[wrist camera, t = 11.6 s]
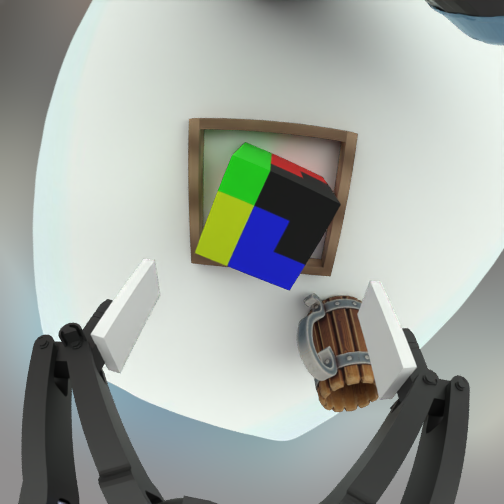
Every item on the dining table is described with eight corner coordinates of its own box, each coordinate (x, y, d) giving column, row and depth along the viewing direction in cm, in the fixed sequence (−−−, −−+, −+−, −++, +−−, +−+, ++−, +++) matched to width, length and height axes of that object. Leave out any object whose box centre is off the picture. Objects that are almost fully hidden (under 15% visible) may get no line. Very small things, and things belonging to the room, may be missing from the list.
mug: (378, 318, 41) (403, 392, 28) (327, 348, 45) (337, 422, 32) (326, 258, 36) (348, 340, 23) (269, 299, 40) (264, 383, 27)
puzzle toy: (286, 244, 36) (289, 290, 27) (215, 214, 34) (194, 253, 26) (322, 177, 31) (341, 204, 22) (245, 142, 30) (232, 154, 21)
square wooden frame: (194, 118, 28) (189, 118, 26) (352, 132, 28) (357, 133, 26) (195, 255, 37) (191, 263, 36) (327, 267, 37) (330, 276, 35)
